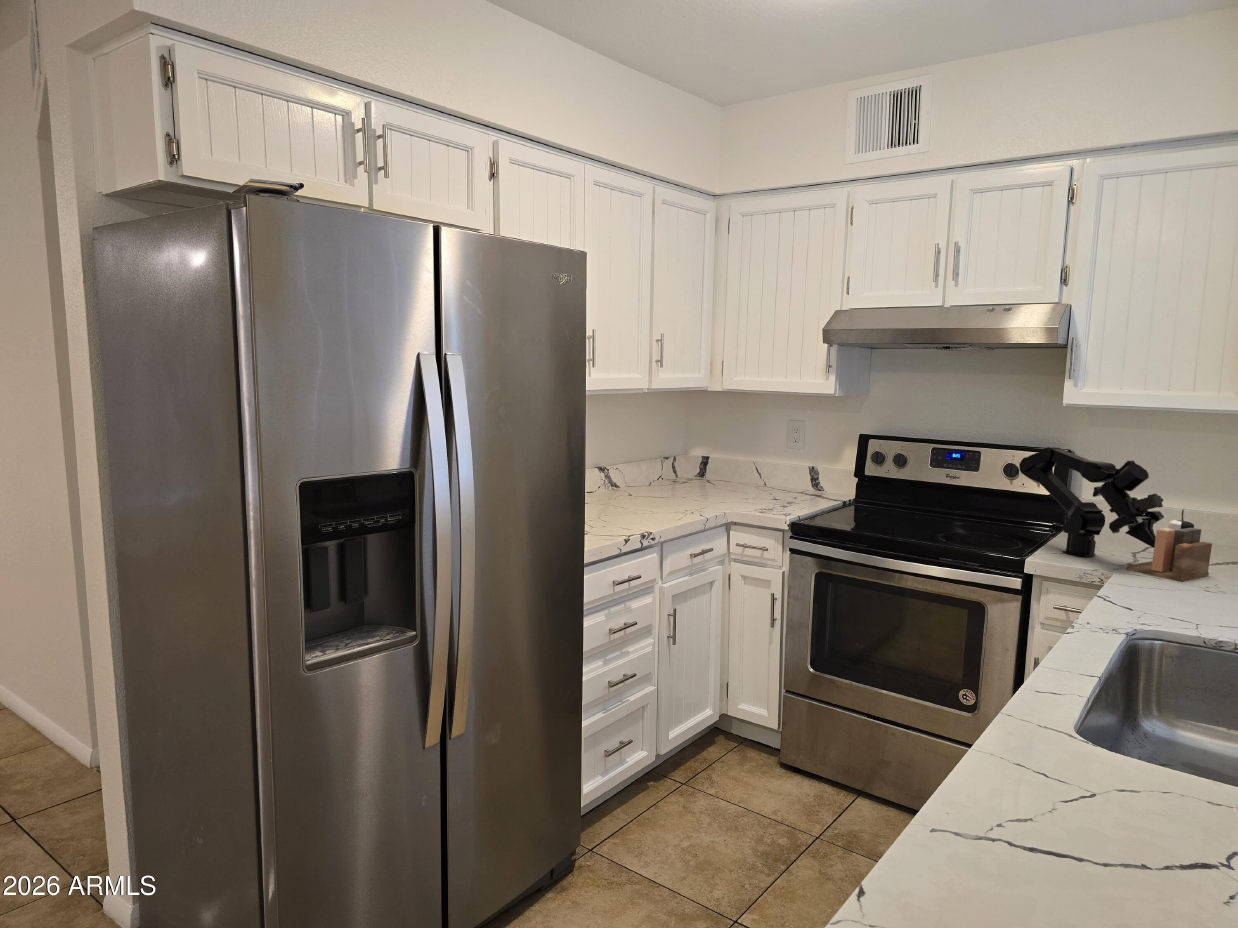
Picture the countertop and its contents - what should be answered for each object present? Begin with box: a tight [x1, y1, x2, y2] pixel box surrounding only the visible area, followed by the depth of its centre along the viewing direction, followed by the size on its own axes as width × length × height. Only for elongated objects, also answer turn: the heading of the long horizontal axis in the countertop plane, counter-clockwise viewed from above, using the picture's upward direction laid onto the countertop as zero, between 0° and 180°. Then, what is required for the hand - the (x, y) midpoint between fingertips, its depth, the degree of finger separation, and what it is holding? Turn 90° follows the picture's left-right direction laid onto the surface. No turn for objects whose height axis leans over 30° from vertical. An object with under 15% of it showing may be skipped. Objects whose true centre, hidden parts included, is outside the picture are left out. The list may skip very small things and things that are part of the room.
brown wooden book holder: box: [1126, 527, 1213, 583], centre depth 221 cm, size 14×16×12 cm
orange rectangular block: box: [1151, 527, 1175, 572], centre depth 218 cm, size 2×5×11 cm, turn 122°
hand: (1157, 547), depth 219 cm, fingers closed, pressing on orange rectangular block
